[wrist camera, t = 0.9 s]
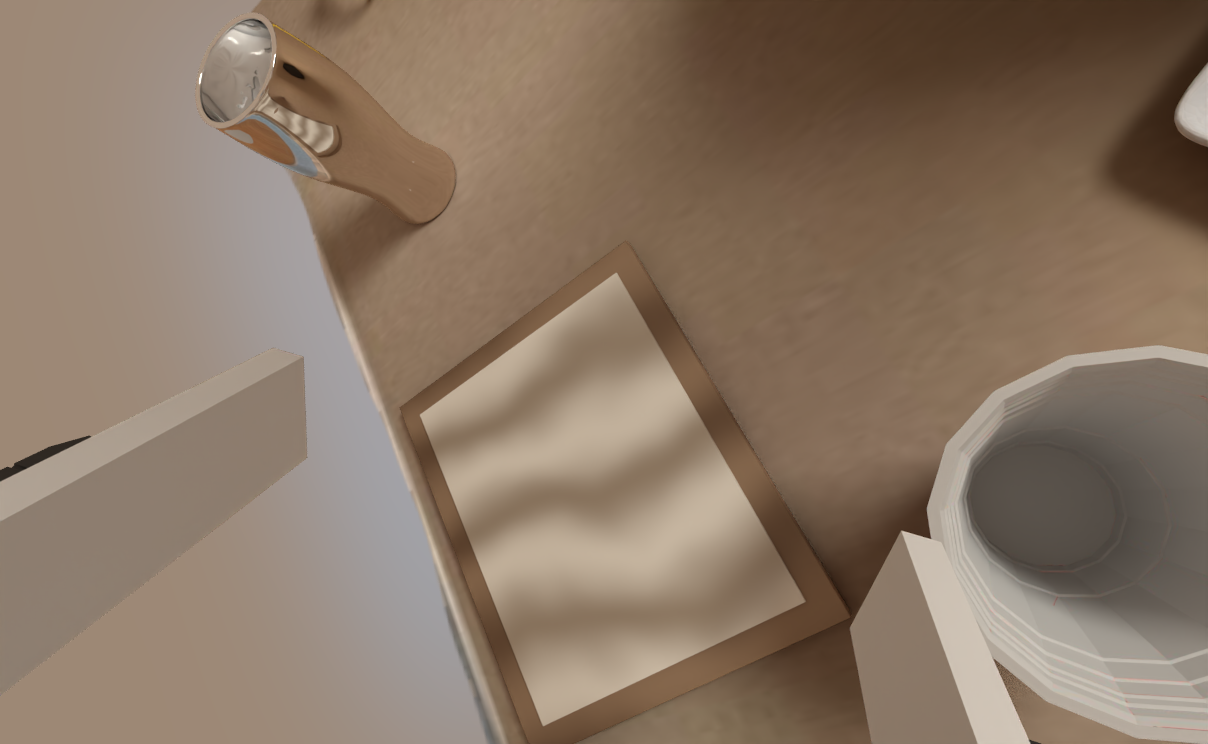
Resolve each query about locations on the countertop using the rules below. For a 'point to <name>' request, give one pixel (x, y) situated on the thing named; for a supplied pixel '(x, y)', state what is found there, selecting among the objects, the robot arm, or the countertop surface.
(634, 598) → the picture frame
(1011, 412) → the plastic cup
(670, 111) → the countertop surface
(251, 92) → the beer glass
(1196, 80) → the salad plate
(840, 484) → the countertop surface
